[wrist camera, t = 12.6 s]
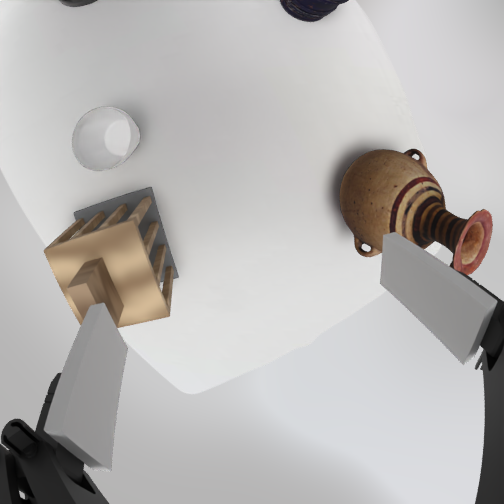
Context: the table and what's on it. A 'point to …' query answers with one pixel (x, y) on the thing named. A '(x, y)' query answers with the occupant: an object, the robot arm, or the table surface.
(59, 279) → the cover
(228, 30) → the table surface
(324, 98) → the table surface
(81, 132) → the cup
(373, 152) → the vase
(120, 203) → the mat
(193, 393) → the table surface
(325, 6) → the dark blue cylinder
